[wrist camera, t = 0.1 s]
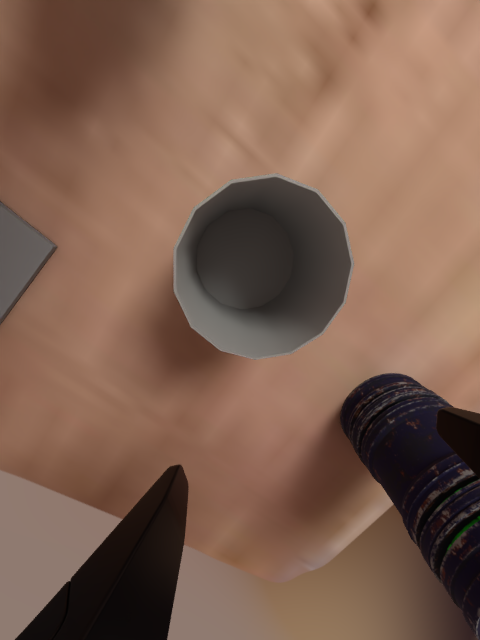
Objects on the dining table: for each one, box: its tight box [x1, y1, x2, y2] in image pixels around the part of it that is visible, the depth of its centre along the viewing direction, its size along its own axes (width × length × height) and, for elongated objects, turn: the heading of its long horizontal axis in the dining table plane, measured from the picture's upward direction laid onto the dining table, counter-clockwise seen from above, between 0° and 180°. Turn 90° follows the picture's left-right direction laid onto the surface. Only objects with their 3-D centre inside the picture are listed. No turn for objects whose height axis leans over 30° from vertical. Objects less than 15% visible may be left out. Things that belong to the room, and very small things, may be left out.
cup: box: [174, 173, 354, 360], centre depth 16 cm, size 8×8×10 cm
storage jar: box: [340, 373, 480, 640], centre depth 19 cm, size 10×10×15 cm
